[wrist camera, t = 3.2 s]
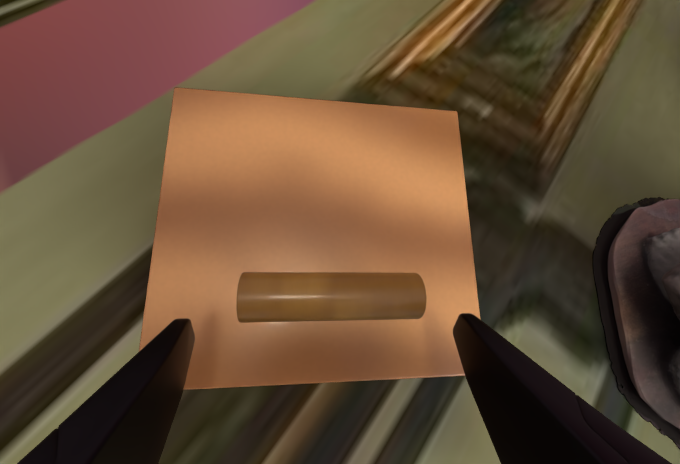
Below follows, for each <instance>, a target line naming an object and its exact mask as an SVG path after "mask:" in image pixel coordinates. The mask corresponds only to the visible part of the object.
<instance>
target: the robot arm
mask: <svg viewBox="0 0 680 464" xmlns="http://www.w3.org/2000/svg"><path fill="white" fill-rule="evenodd" d="M453 337H454V340H455V343H456V347H457V350H458V353H459V357H460V360H461V363H462V367H463V370H464V373H465V376H466V379H467V382H468V384H469V387H470V389H471V391H472V394H473V396H474V399H475V401H476V404H477V406H478V408H479V411H480V413H481V416H482V418H483V421H484V423H485V426H486V428H487V430H488V433H489V435H490V438H491V440H492V443H493V445H494V447H495V450H496V452H497V455H498V457H499V460H500V462H501V464H671V463H670V462H668V461H667V460H666V459H664V458H663V457H661V456H660V455H658V454H657V453H656V452H654V451H653V450H651V449H650V448H648V447H647V446H646V445H644V444H643V443H641V442H640V441H638V440H637V439H636V438H634V437H633V436H631V435H630V434H629V433H627V432H626V431H624V430H623V429H622V428H620V427H619V426H617V425H616V424H615V423H613V422H612V421H610V420H609V419H608V418H606V417H605V416H604V415H603V414H601V413H600V412H599V411H597V410H596V409H595V408H593V407H592V406H591V405H589V404H588V403H587V402H586V401H584V400H583V399H582V398H580V397H579V396H578V395H575V393H574V392H573V391H571V390H570V389H569V388H567V387H566V386H565V385H564V384H562V383H561V382H560V381H558V380H557V379H556V378H555V377H553V376H552V375H551V374H549V373H548V372H547V371H546V370H544V369H543V368H542V367H540V366H539V365H538V364H537V363H535V362H534V361H533V360H532V359H530V358H529V357H528V356H526V355H525V354H524V353H523V352H521V351H520V350H519V349H517V348H516V347H515V346H514V345H512V344H511V343H510V342H508V341H507V340H506V339H505V338H503V337H502V336H501V335H499V334H498V333H497V332H496V331H494V330H493V329H492V328H490V327H489V326H488V325H487V324H485V323H484V322H483V321H481V320H480V319H479V318H478V317H476V316H475V315H474V314H472V313H461V314H460V315H459V316H458V318H457V320H456V323H455V325H454V327H453ZM194 342H195V334H194V331H193V327H192V323H191V320H190V319H188V318H178V319H175V320H173V321H172V322H171V323H170V324H169V325H168V326H167V327H165V328H164V329H163V330H162V331H161V332H160V333H159V334H158V335H157V336H156V337H155V338H154V339H152V340H151V341H150V342H149V343H148V344H147V345H146V346H145V347H144V348H143V349H142V350H140V351H139V352H138V353H137V354H136V355H135V356H134V357H133V358H132V359H131V360H130V361H129V362H127V363H126V364H125V365H124V366H123V367H122V368H121V369H120V370H119V371H118V372H117V373H116V374H114V375H113V376H112V377H111V378H110V379H109V380H108V381H107V382H106V383H105V384H104V385H103V386H101V387H100V388H99V389H98V390H97V391H96V392H95V393H94V394H93V395H92V396H91V397H90V398H88V399H87V400H86V401H85V402H84V403H83V404H82V405H81V406H80V407H79V408H78V409H77V410H75V411H74V412H73V413H72V414H71V415H70V416H69V417H68V418H67V419H66V420H65V421H63V422H62V423H61V424H60V425H59V427H58V429H55V430H54V431H52V432H51V433H50V434H49V435H48V436H47V437H46V438H45V439H44V440H43V441H42V442H41V443H39V444H38V445H37V446H36V447H35V448H34V449H33V450H32V451H31V452H29V453H28V454H27V455H26V456H25V457H24V458H23V459H22V460H20V461H19V462H18V463H17V464H158V462H159V459H160V456H161V453H162V450H163V448H164V445H165V442H166V439H167V436H168V433H169V430H170V428H171V425H172V422H173V419H174V416H175V413H176V410H177V408H178V405H179V402H180V399H181V396H182V393H183V389H184V385H185V381H186V377H187V372H188V368H189V364H190V359H191V355H192V351H193V347H194Z"/></svg>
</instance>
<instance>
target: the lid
mask: <svg viewBox="0 0 680 464" xmlns="http://www.w3.org/2000/svg"><path fill="white" fill-rule="evenodd" d="M461 313H472V314H474V315H475V316H476V317H478V318H479V319H480V313H479V304H478V295H477V286H476V277H475V268H474V259H473V250H472V241H471V232H470V223H469V214H468V205H467V195H466V186H465V177H464V168H463V159H462V150H461V141H460V132H459V123H458V114H457V112H456V111H446V110H434V109H422V108H411V107H399V106H387V105H376V104H364V103H352V102H341V101H329V100H318V99H306V98H294V97H283V96H271V95H259V94H248V93H236V92H224V91H213V90H201V89H189V88H178V87H175V88H174V94H173V102H172V109H171V117H170V124H169V132H168V139H167V146H166V154H165V161H164V169H163V176H162V184H161V191H160V199H159V206H158V213H157V221H156V228H155V236H154V243H153V251H152V258H151V265H150V273H149V280H148V288H147V295H146V303H145V310H144V317H143V325H142V332H141V340H140V347H139V351H140V350H142V349H143V348H144V347H145V346H146V345H147V344H148V343H149V342H150V341H151V340H152V339H154V338H155V337H156V336H157V335H158V334H159V333H160V332H161V331H162V330H163V329H164V328H165V327H167V326H168V325H169V324H170V323H171V322H172V321H173V320H175V319H178V318H188V319H190V320H191V323H192V327H193V331H194V334H195V342H194V347H193V351H192V355H191V359H190V364H189V368H188V372H187V377H186V381H185V385H184V389H183V390H188V389H208V388H228V387H248V386H268V385H288V384H307V383H327V382H347V381H367V380H387V379H407V378H427V377H446V376H465V373H464V370H463V367H462V363H461V360H460V357H459V353H458V350H457V347H456V343H455V340H454V337H453V327H454V325H455V323H456V320H457V318H458V316H459V315H460V314H461Z"/></svg>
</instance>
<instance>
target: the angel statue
mask: <svg viewBox="0 0 680 464" xmlns="http://www.w3.org/2000/svg"><path fill="white" fill-rule="evenodd" d="M643 200H644V201H642V200H640V201H642V202H640V201H638V202H637V203H634V204H633V206H632V205H628V204H626V205H625V206H624V207H623V208H622V207H621V208H618V209H617V210H616V211H615V213H613V214H612V217H611V219H609V220H608V221H607V222H606V223H605V224H604V226H603V228H602V229H601V231H600V236H598V238H597V242H596V244H597V246H596V249H595V250H594V257H593V269H594V275H595V276H594V278H595V281H596V285H597V286H596V288H597V290H598V291H597V293H598V299H599V305H600V310H601V318H602V323H603V325H604V328H605V329H604V331H605V334H606V341H607V346H608V352H609V353H610V360H611V361H612V362H613V364H612V366H611V367H612V369H613V371H614V374H615V375H616V376H617V382H618V388H619V390H620V391H621V394H622V395H623V393H624V395H625V396H626V397H627V400H628V402H629V403H630V404H631V405H633V406H634V407H635V409H636V411H637V413H639V414H641V416H642V417H643V419H645V420H646V421H648V422H649V421H651V422H652V424H653V425H654V426H655V427H656V428H657V429H658V430H659V428H660V429H661V433H662V434H663V435H667V436H668V437H669V438H672V439H673V441H674V442H675V443H676V445H677V446H678V447H679V448H680V200H678V199H666V200H665V199H663V198H661V197H658V198H650V199H648V198H645V199H643ZM620 383H621V385H623V386H624V387H623V388H621V387H620ZM629 398H630V399H629Z"/></svg>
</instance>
